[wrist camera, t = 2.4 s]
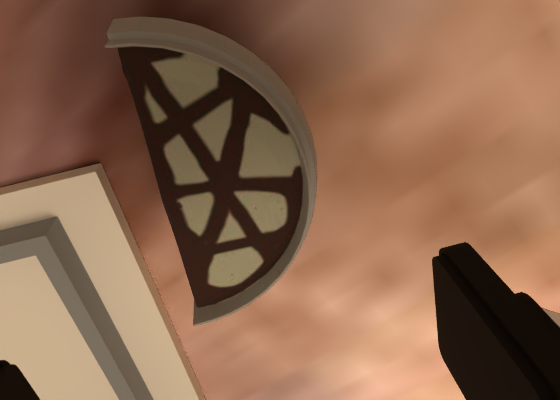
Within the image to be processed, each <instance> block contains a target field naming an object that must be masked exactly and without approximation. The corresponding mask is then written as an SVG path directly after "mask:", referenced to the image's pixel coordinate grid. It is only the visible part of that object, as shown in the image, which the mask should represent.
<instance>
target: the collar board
mask: <svg viewBox="0 0 560 400" xmlns="http://www.w3.org/2000/svg"><path fill="white" fill-rule="evenodd" d="M0 360H6V361H8V362H9V363H10V364H14V365H16V366H17V367H18V368H19V369H20V371H21V372H22V373H23V375H24V376H25V378H26V379H27V381H28V382H29V384H30V385H31V387H32V388H33V390H34V391H35V392H36V394H37V395H38V397H39V398H40V400H206V399H205V397H204V395H203V392H202V390H201V388H200V386H199V383H198V381H197V379H196V377H195V374H194V372H193V370H192V368H191V365H190V363H189V361H188V359H187V356H186V354H185V352H184V350H183V347H182V345H181V343H180V340H179V338H178V336H177V334H176V331H175V329H174V327H173V325H172V322H171V320H170V318H169V316H168V313H167V311H166V309H165V307H164V304H163V302H162V300H161V298H160V295H159V293H158V291H157V289H156V286H155V284H154V282H153V280H152V277H151V275H150V273H149V270H148V268H147V266H146V264H145V261H144V259H143V257H142V255H141V252H140V250H139V248H138V246H137V243H136V241H135V239H134V237H133V234H132V232H131V230H130V228H129V225H128V223H127V221H126V219H125V216H124V214H123V212H122V210H121V207H120V205H119V203H118V201H117V198H116V196H115V194H114V191H113V189H112V187H111V185H110V182H109V180H108V178H107V176H106V173H105V171H104V169H103V167H102V164H101V163H98V164H94V165H90V166H86V167H82V168H78V169H74V170H70V171H66V172H62V173H58V174H54V175H50V176H46V177H42V178H38V179H34V180H29V181H25V182H21V183H17V184H13V185H9V186H5V187H1V188H0Z"/></svg>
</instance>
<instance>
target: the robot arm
mask: <svg viewBox="0 0 560 400" xmlns="http://www.w3.org/2000/svg"><path fill="white" fill-rule="evenodd" d="M432 266H433V279H434V292H435V305H436V317H437V330H438V343H439V349H440V352H441V355H442V358H443V360H444V362H445V364H446V365H447V367H448V369H449V371H450V372H451V374H452V376H453V378H454V379H455V381H456V383H457V385H458V386H459V388H460V390H461V392H462V393H463V395H464V397H465V399H466V400H560V327H559V326H558V325H557V324H556V323H555V322H554V321H553V320H552V319H551V317H550V316H549V315H548V314H547V313H546V312H545V311H544V310H543V309H542V308H541V307H540V306H539V305H538V304H537V303H536V302H535V301H534V300H533V299H532V298H531V297H530V296H529V295H528V294H526V293H523V292H520V293H516V294H514V293H513V292H512V291H511V289H510V288H509V287H508V286H507V285H506V284H505V283H504V282H503V281H502V280H501V278H500V277H499V276H498V275H497V274H496V273H495V272H494V271H493V270H492V268H491V267H490V266H489V265H488V264H487V263H486V262H485V261H484V260H483V259H482V257H481V256H480V255H479V254H478V253H477V252H476V251H475V250H474V249H473V248H472V246H471V245H470V244H468V243H466V242H464V243H460V244H456V245H452V246H448V247H444V248H441V249H440V250H439V256H436V257H433V259H432ZM0 400H40V398H39V397H38V395H37V394H36V392H35V391H34V390H33V388H32V387H31V385H30V384H29V382H28V381H27V379H26V378H25V376H24V375H23V373H22V372H21V371H20V369H19V368H18V367H17V366H16V365H14V364H10V363H9V362H8V361H6V360H0Z"/></svg>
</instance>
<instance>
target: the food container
mask: <svg viewBox="0 0 560 400" xmlns="http://www.w3.org/2000/svg"><path fill="white" fill-rule="evenodd" d="M107 36H108V39H109V41H108V42H107V43H106V44H105V48H115V47H118V52H119V56H120V59H121V62H122V68H123V72H124V74H125V76H126V78H127V80H128V83H129V86H130V89H131V92H132V95H133V99H134V102H135V105H136V109H137V112H138V116H139V119H140V122H141V126H142V129H143V133H144V136H145V140H146V143H147V146H148V150H149V153H150V157H151V161H152V164H153V168H154V172H155V175H156V179H157V183H158V187H159V190H160V194H161V198H162V201H163V204H164V207H165V210H166V213H167V216H168V218H169V221H170V224H171V227H172V230H173V233H174V236H175V239H176V242H177V245H178V248H179V251H180V254H181V257H182V261H183V264H184V267H185V271H186V274H187V277H188V280H189V284H190V287H191V290H192V293H193V296H194V319H193V326H197V325H201V324H205V323H208V322H212V321H215V320H218V319H220V318H223V317H225V316H228V315H230V314H233V313H235V312H236V311H238V310H240V309H242V308H244V307H246V306H247V305H249V304H251V303H252V302H254V301H255V300H256V299H258V298H259V297H260V296H262V295H263V294H264V293H266V292H267V291H268V290H269V289H270V288H271V287H272V286H273V285H274V284H275V283H276V282H277V281H278V280H279V279H280V278H281V277H282V276H283V274H284V273H285V271H286V270H287V269H288V267H289V266H290V265H291V263H292V262H293V260H294V258H295V256H296V255H297V253H298V251H299V249H300V247H301V246H302V244H303V242H304V240H305V238H306V236H307V233H308V230H309V227H310V224H311V220H312V217H313V212H314V205H315V198H316V188H317V157H316V151H315V147H314V142H313V137H312V133H311V130H310V128H309V125H308V123H307V120H306V118H305V115H304V113H303V111H302V109H301V107H300V106H299V104H298V102H297V101H296V99H295V97H294V96H293V94H292V92H291V91H290V89H289V88H288V87H287V86H286V85H285V83H284V82H283V81H282V80H281V79H280V78H279V76H278V75H277V74H276V73H275V72H274V71H273V69H271V68H270V67H269V66H268V65H267V64H266V63H264V62H263V61H262V60H261V59H260V58H258V57H257V56H256V55H255V54H254V53H253V52H251V51H250V50H248V49H246V48H245V47H243V46H241V45H240V44H238V43H236V42H235V41H233V40H231V39H230V38H228V37H226V36H224V35H221V34H219V33H217V32H214V31H212V30H209V29H207V28H204V27H202V26H199V25H195V24H191V23H187V22H182V21H178V20H174V19H168V18H155V17H141V16H140V17H128V18H116V19H113V20H112V23H111V25H110V27H109V29H108V31H107Z"/></svg>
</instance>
